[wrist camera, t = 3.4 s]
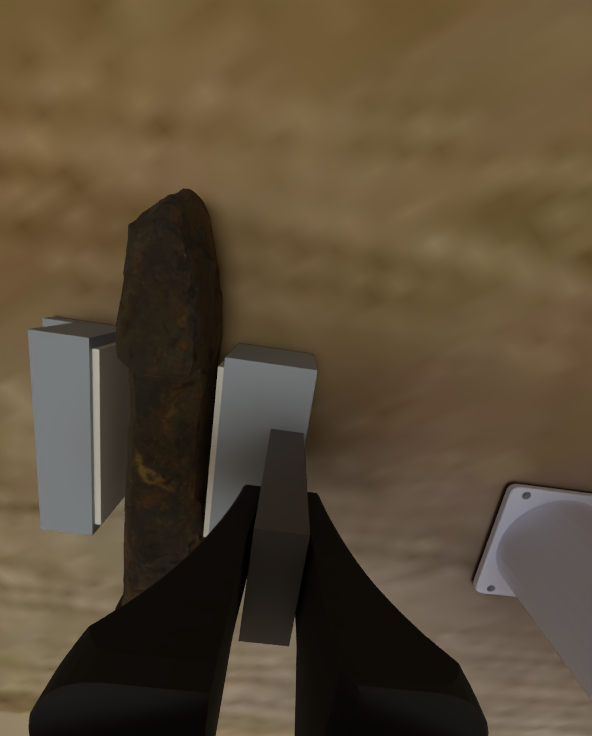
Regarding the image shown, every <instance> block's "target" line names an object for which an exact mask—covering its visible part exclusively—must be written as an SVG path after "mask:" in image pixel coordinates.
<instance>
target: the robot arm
mask: <svg viewBox="0 0 592 736" xmlns="http://www.w3.org/2000/svg"><path fill="white" fill-rule="evenodd" d="M260 490H261V486H255V485H247V484H246V485H245V486H243V488H242V490H241V492H240V493H239V495H238V497H237V498H236V500H235V501H234V503H233V504H232V506H231V507H230V508H229V510H228V511H227V512H226V514H225V515H224V516H223V517H222V519H221V520H220V521H219V522H218V524H217V525H216V526H215V527H214V528H213V529H212V531H211V532H210V533H209V534H208V535H207V536H206V537H205V538H204V539H203V541H202V542H201V543H200V544H199V545H198V546H197V547H196V548H195V549H194V550H193V551H192V552H191V553H189V554H188V555H187V556H186V557H185V558H184V559H183V560H182V561H181V562H180V563H178V564H177V565H176V566H175V567H174V568H173V569H172V570H170V571H169V572H168V573H167V574H166V575H164V576H163V577H162V578H161V579H159V580H158V581H157V582H155V583H154V584H153V585H151V586H150V587H148V588H147V589H146V590H144V591H143V592H142V593H140V594H139V595H138V596H136V597H135V598H133V599H132V600H131V601H129V602H128V603H126V604H125V605H123V606H121V607H120V608H118V609H117V610H115V611H113V612H112V613H110V614H109V615H107V616H105V617H104V618H102V619H101V620H99V621H97V622H96V623H94V624H92V625H90V626H89V627H88V628H87V629H86V631H85V632H84V633H83V634H82V636H81V637H80V638H79V640H78V641H77V642H76V643H75V645H74V646H73V647H72V649H71V650H70V651H69V653H68V654H67V655H66V657H65V658H64V659H63V661H62V662H61V664H60V665H59V667H58V668H57V670H56V671H55V673H54V675H53V676H52V678H51V679H50V681H49V683H48V684H47V686H46V688H45V689H44V691H43V692H42V694H41V696H40V697H39V699H38V701H37V702H36V704H35V706H34V708H33V709H32V711H31V713H30V718H29V735H30V736H216V730H217V724H218V718H219V712H220V706H221V700H222V694H223V688H224V683H225V677H226V671H227V665H228V659H229V654H230V648H231V642H232V637H233V632H234V628H235V623H236V619H237V615H238V611H239V607H240V603H241V599H242V595H243V591H244V587H245V583H246V579H247V575H248V569H249V561H250V554H251V547H252V539H253V532H254V525H255V519H256V513H257V508H258V502H259V496H260ZM525 492H526V493H525ZM523 493H525V494H524V495H523ZM307 494H308V510H309V525H310V538H309V544H308V549H307V554H306V559H305V565H304V570H303V575H302V580H301V586H300V591H299V596H298V601H297V607H296V612H295V619H296V641H297V657H296V705H295V736H488V726H487V721H486V719H485V717H484V714H483V712H482V710H481V708H480V705H479V703H478V701H477V698H476V696H475V694H474V692H473V690H472V688H471V686H470V684H469V682H468V680H467V678H466V677H465V675H464V673H463V671H462V669H461V667H460V665H459V663H457V662H456V661H455V660H454V659H453V658H451V657H450V656H449V655H448V654H447V653H445V652H444V651H443V650H442V649H441V648H439V647H438V646H437V645H436V644H435V643H433V642H432V641H431V640H430V639H429V638H427V637H426V636H425V635H424V634H423V633H422V632H421V631H420V630H419V629H417V628H416V627H415V626H414V625H413V624H412V623H411V622H410V621H409V620H408V619H407V618H406V617H405V616H404V615H403V614H402V613H401V612H400V611H399V610H398V609H397V608H396V607H395V606H394V605H393V604H392V603H391V602H390V601H389V600H388V599H387V598H386V597H385V595H384V594H383V593H382V592H381V591H380V590H379V589H378V588H377V587H376V586H375V584H374V583H373V582H372V581H371V580H370V578H369V577H368V576H367V575H366V573H365V572H364V571H363V569H362V568H361V567H360V565H359V564H358V563H357V561H356V560H355V558H354V557H353V556H352V554H351V553H350V551H349V550H348V548H347V547H346V545H345V543H344V542H343V540H342V539H341V537H340V535H339V534H338V532H337V530H336V529H335V527H334V525H333V523H332V521H331V520H330V518H329V516H328V514H327V512H326V510H325V508H324V506H323V504H322V502H321V500H320V497H319V496H318V494H317V493H311V492H307ZM473 586H474V587H475V589H476V591H478V592H480V593H486V594H495V595H504V596H512V597H517V598H518V600H519V601H520V603H521V604H522V605H523V607H524V608H525V609H526V611H527V612H528V614H529V615H530V616H531V618H532V619H533V621H534V622H535V623H536V625H537V626H538V627H539V629H540V630H541V632H542V633H543V634H544V636H545V637H546V639H547V640H548V641H549V643H550V644H551V645H552V647H553V648H554V650H555V651H556V652H557V654H558V655H559V656H560V658H561V659H562V661H563V662H564V663H565V665H566V666H567V668H568V669H569V670H570V672H571V673H572V674H573V676H574V677H575V679H576V680H577V681H578V683H579V684H580V686H581V687H582V688H583V690H584V691H585V692H586V694H587V695H588V697H589V698H590V699H591V701H592V493H584V492H577V491H569V490H561V489H554V488H546V487H538V486H531V485H523V484H512V485H510V486H509V487H508V488H507V490H506V492H505V495H504V498H503V501H502V503H501V506H500V509H499V512H498V514H497V517H496V520H495V523H494V526H493V528H492V531H491V534H490V537H489V539H488V542H487V545H486V548H485V550H484V553H483V556H482V559H481V561H480V564H479V567H478V570H477V572H476V575H475V578H474V581H473Z"/></svg>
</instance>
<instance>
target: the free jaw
mask: <svg viewBox="0 0 592 736" xmlns="http://www.w3.org/2000/svg"><path fill="white" fill-rule="evenodd" d="M317 371H318V370H317V367H316V363H315V360H314V356H313V354H309V353H302V352H295V351H288V350H281V349H274V348H267V347H260V346H254V345H247V344H240V343H239V344H238V345H237V346H236V347H235V348H234V349H233V350H232V351H231V352H230V353H229V354H228V355H227V356H226V357H225V360H224V361H223V362H222V363H221V364H220V365H219V366H218V373H217V385H216V396H215V407H214V419H213V430H212V441H211V453H210V464H209V475H208V487H207V498H206V509H205V521H204V532H203V537H206V536H207V535H208V534H209V533H210V532H211V531H212V529H213V528H214V527H215V526H216V525H217V524H218V522H219V521H220V520H221V519H222V517H223V516H224V515H225V514H226V512H227V511H228V510H229V508H230V507H231V506H232V504H233V503H234V501H235V500H236V498H237V497H238V495H239V493H240V492H241V490H242V488H243V486H245V485H246V484H247V485H255V486H261V490H260V496H259V502H258V508H257V513H256V519H255V525H254V532H253V539H252V547H251V554H250V561H249V569H248V576H247V583H246V591H245V598H244V606H243V613H242V620H241V628H240V635H239V641H244V642H253V643H263V644H272V645H282V646H289V643H290V638H291V633H292V628H293V622H294V617H295V612H296V607H297V601H298V596H299V591H300V586H301V580H302V575H303V570H304V565H305V559H306V554H307V549H308V544H309V538H310V525H309V510H308V494H307V479H306V463H305V448H304V447H305V441H306V435H307V430H308V424H309V418H310V412H311V406H312V400H313V394H314V389H315V383H316V377H317Z"/></svg>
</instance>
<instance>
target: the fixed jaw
mask: <svg viewBox="0 0 592 736" xmlns="http://www.w3.org/2000/svg"><path fill="white" fill-rule="evenodd" d="M42 320H43V327H40V328H33V329H28V341H29V356H30V371H31V386H32V401H33V416H34V431H35V446H36V461H37V476H38V491H39V506H40V521H41V530H50V531H58V532H67V533H75V534H84V535H93V534H94V533H95V532H96V531H97V529H98V528H99V527H100V526H101V524H102V523H103V522H104V521H105V520H106V518H107V517H108V516H109V515H110V514H111V512H112V511H113V510H114V509H115V507H116V506H117V505H118V504H119V503H120V501H121V500H122V499H123V498H124V496H125V486H126V467H127V447H128V427H129V422H130V387H129V373H128V370H129V369H128V368H127V367H126V366H125V365H124V364H123V363H122V362H121V361H120V360H119V359H118V358H117V351H116V342H115V334H116V326H115V325H108V324H101V323H94V322H87V321H80V320H73V319H66V318H59V317H48V318H42Z"/></svg>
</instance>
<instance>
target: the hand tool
mask: <svg viewBox="0 0 592 736" xmlns="http://www.w3.org/2000/svg"><path fill="white" fill-rule="evenodd" d="M123 274H124V281H123V288H122V295H121V301H120V306H119V311H118V317H117V323H116V334H115V342H116V351H117V358H118V359H119V360H120V361H121V362H122V363H123V364H124V365H125V366H126V367H127V368H128V369H129V370H128V373H129V387H130V422H129V427H128V447H127V467H126V486H125V524H124V579H123V582H124V592H123V595H122V597H121V599H120V601H119V603H118V604H117V606H116V608H115V610H117V609H118V608H120V607H121V606H123V605H125V604H126V603H128V602H129V601H131V600H132V599H133V598H135V597H136V596H138V595H139V594H140V593H142V592H143V591H144V590H146V589H147V588H148V587H150V586H151V585H153V584H154V583H155V582H157V581H158V580H159V579H161V578H162V577H163V576H164V575H166V574H167V573H168V572H169V571H170V570H172V569H173V568H174V567H175V566H176V565H177V564H178V563H180V562H181V561H182V560H183V559H184V558H185V557H186V556H187V555H188V554H189V553H191V552H192V551H193V550H194V549H195V548H196V547H197V546H198V545H199V544H200V543H201V542H202V541H203V539H204V537H203V532H204V521H205V516H204V503H205V497H206V491H207V485H208V473H209V472H208V465H209V451H210V437H211V423H212V416H213V403H214V388H215V378H216V365H217V357H218V352H219V348H220V344H221V338H222V293H221V291H220V285H219V272H218V267H217V261H216V253H215V245H214V241H213V236H212V232H211V226H210V219H209V215H208V212H207V209H206V207H205V204H204V202H203V201H202V199H201V198H200V197H199V196H198V195H197V194H196V193H195V192H193V191H192V190H190V189H182V190H180V191H179V192H178V193H176V194H171V195H168V196H167V197H165V198H164V199H161V200H160V201H159V202H158V203H157V204H155V205H154V206H152V207H151V208H149V209H148V210H146V211H145V212H143V213H142V214H141V215H140V216H139V217H138V218H137V219H136V220H135V221H134V222H132V223H130V224H129V225H128V242H127V249H126V258H125V265H124V271H123Z"/></svg>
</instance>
